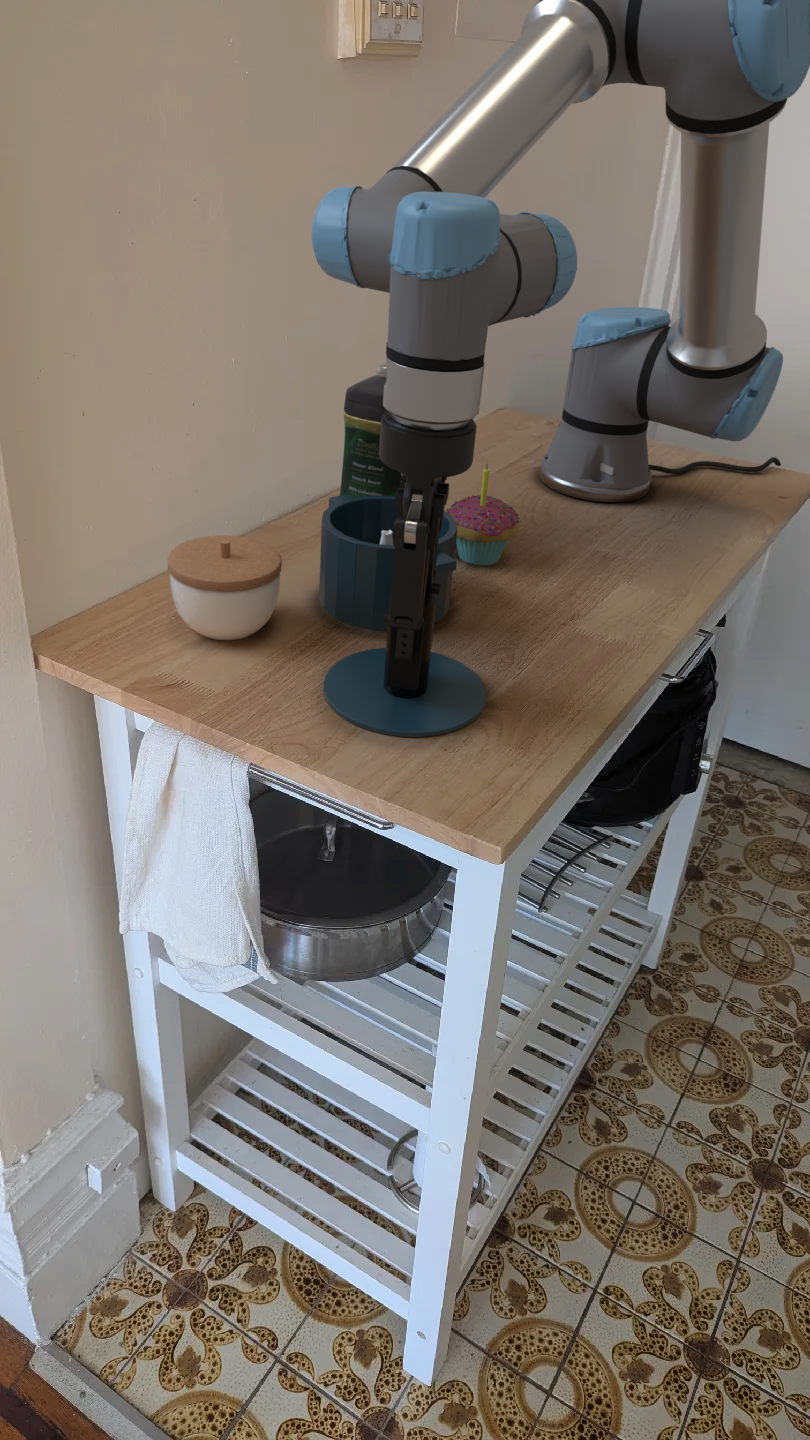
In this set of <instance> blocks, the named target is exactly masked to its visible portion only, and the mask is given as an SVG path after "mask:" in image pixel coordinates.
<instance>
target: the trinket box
mask: <svg viewBox="0 0 810 1440" xmlns="http://www.w3.org/2000/svg"><path fill="white" fill-rule="evenodd" d="M282 565H283V560H282V556H281V554H280V553H279V551H278V550H277V549H276V548H275V547H274V546H272V545H271V544H268V543H266V542H264V541H262V540H258V539H255V538H252V537H246V536H239V535H226V534H224V535H222V534H219V535H218V534H217V535H208V536H201V537H195V538H191V539H189V540H186V541H183V542H181V543H179V544H178V545H176V546H175V547H174V548H173V549H171V550H170V552H169V554H168V555H167V570H168V573H169V586H170V592H171V597H172V600H173V604H174V607H175V610H176V611H177V613H178V615H179V617H180V618H181V620H182V621H183V622H184V623H185V624H186V625H187V626H188V627H189V628H191V630H192V631H194V632H195V633H197V634H198V635H200V636H203V637H205V638H207V639H211V640H216V641H235V640H236V641H237V640H241V639H245V638H247V637H250V636H252V635H253V634H255V633H257V632H258V631H259V630H261V629H262V628H263V627H264V626H265V625H266V624H267V623H268V622H269V620H270V619H271V617H272V616H273V614H274V611H275V609H276V607H277V603H278V599H279V595H280V588H281V572H282Z"/></svg>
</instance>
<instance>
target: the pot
mask: <svg viewBox="0 0 810 1440" xmlns="http://www.w3.org/2000/svg"><path fill="white" fill-rule="evenodd" d="M396 517H397V512H396V510H395V496H362V497H356V498H353V497H351V496H350V495H348V494H345V495H340V494H339V495H335V496H330V497H329V498H328V507H327V508H326V509H325V510H324V511H323V512H322V518H321V531H320V532H321V533H320V535H321V536H320V538H321V539H320V559H319V560H320V562H319V587H318V588H319V589H318V591H319V592H318V602H319V603H320V606H321V607H322V609H323V611H324V612H326V613H327V614H328V615H330V616H331V617H333V618H334V619H335V620H337V621H340V622H342V623H345V624H347V625H349V626H351V627H355V628H360V629H365V630H368V631H369V630H370V631H374V632H375V631H376V632H387V631H388V623H384V622H383V617H384V615H385V613H386V614H389V604H390V595H391V589H392V575H393V561H394V547H395V538H394V537H395V528H394V522H395V520H396ZM382 530H384V531H389V530H391V531H392V532H393V533H392V538H393V545H380V540H381V536H382V533H381V531H382ZM457 531H458V529H457V522H456V521H455V520H454V518H453V517H452V516H451V515H450V514H449V513H447V510H444V519H443V524H442V528H441V530H440V532H439V542H438V552H437V561H436V570H437V573H436V575H435V577H434V579H433V583H435V584H441V588H440V594H439V595H435V594H433V595H434V596H435V598H436V609H435V619H434V624H436V623H438V622H439V621H441V620H443V619H444V618H445V616H446V615H447V613H448V612H449V610H450V602H451V594H452V584H453V575H454V571H457V563H458V561H457V559H456V558H455V557H456V550H457V544H456V540H457Z"/></svg>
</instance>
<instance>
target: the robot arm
mask: <svg viewBox="0 0 810 1440" xmlns="http://www.w3.org/2000/svg"><path fill="white" fill-rule="evenodd" d="M809 69H810V0H538V2H537V3H536V4H535V5H534V6H533V7H532V8H531V9H530V10H529V12H528V13H527V15H526V17H525V18H524V20H523V22H522V26H521V30H520V36H519V37H518V38H517V39H516V40H515V41H514V42H513V43H512V44H511V45H510V46H509V47H508V49H506V50H505V51H504V53H502V54H501V55H500V56H499V57H498V58H497V60H495V61H494V62H493V64H491V65H490V67H488V68H487V69H486V71H485V72H484V73H482V75H480V77H479V78H478V79H477V80H476V81H475V82H474V83H473V84H472V85H471V86H470V87H469V88H468V89H467V90H466V91H465V92H464V93H463V94H461V96H459V98H458V99H457V100H456V101H455V102H454V103H453V104H452V105H451V106H450V107H449V108H448V110H446V111H445V112H444V113H443V114H442V115H441V116H440V117H439V118H438V119H437V121H436V122H434V123H433V125H431V126H430V127H429V128H428V130H427V131H425V133H424V134H422V136H421V137H420V138H419V139H417V141H416V142H414V143H413V145H412V146H411V147H410V148H409V149H408V150H407V151H405V153H404V154H403V155H402V156H401V157H400V158H399V159H398V160H396V162H395V163H394V164H393V165H392V166H391V167H390V168H389V169H388V170H387V171H386V173H385V174H383V175H382V176H381V177H380V178H379V179H378V180H377V181H376V182H375V183H374V184H373V185H372V186H371V187H370V188H367V189H365V188H363V187H362V186H360V185H354V186H352V187H348V186H339V187H336V188H333V189H331V190H329V191H328V192H327V193H326V194H325V195H324V196H323V197H322V199H321V201H320V202H319V204H318V205H317V208H316V210H315V213H314V216H313V221H312V226H311V245H312V249H313V252H314V257H315V259H316V262H317V264H318V266H319V267H320V269H321V270H322V272H324V273H325V274H326V275H327V276H328V277H331V278H332V279H336V280H338V281H341V282H344V283H348V284H351V285H354V286H355V287H357V288H361V289H368V290H374V291H380V292H384V293H388V294H389V300H388V320H387V321H388V322H387V342H386V346H385V364H384V365H383V364H382V365H378V367H377V370H376V375H378V376H379V377H380V378H385V379H386V383H385V385H384V396H383V406H384V407H385V408H386V409H387V410H388V411H386V412H385V414H384V415H383V416H382V417H381V429H380V444H379V456H380V459H381V461H382V462H383V463H384V464H385V465H386V466H387V467H389V468H391V469H392V470H397V471H399V472H401V473H402V474H403V475H404V476H405V477H406V478H402V479H401V485H400V488H397V491H396V497H395V510H396V512H397V517H396V520H395V522H394V528H395V537H394V538H395V547H394V561H393V575H392V589H391V603H390V614H386V613H385V615H384V617H383V622H384V623H389V626H390V627H391V638H390V651H389V664H388V676H387V686H389V687H396V688H403V689H410V690H417V689H418V684H419V673H420V663H421V653H422V642H423V632H424V622H425V621H423V620H424V618H423V608H424V599H425V591H428V592H430V593H432V594H435V595H439V594H440V588H441V584H435V583H433V579H434V577H435V575H436V573H437V570H436V561H437V552H438V542H439V532H440V530H441V528H442V524H443V519H444V511H445V506H446V505H447V502H448V498H449V494H450V483H448V482H446V481H447V480H448V478H451V477H456V476H458V475H462V474H464V473H465V472H467V471H468V470H469V469H470V468H471V467H472V465H473V461H474V455H475V445H476V438H477V437H476V435H477V428H478V427H477V424H476V422H475V420H474V419H475V418H476V417H477V416H478V415H479V414H480V406H481V398H482V389H483V381H484V374H485V366H486V364H485V354H486V353H485V352H486V346H487V345H486V344H487V339H488V330H489V326H493V325H496V324H500V323H504V322H507V321H512V320H516V319H520V318H529V317H531V316H532V317H535V316H536V315H538V314H541V312H542V311H544V310H547V309H550V308H552V307H553V306H555V305H557V304H559V302H561V301H563V299H564V298H565V297H566V295H567V294H568V293H569V292H570V290H571V288H572V286H573V284H574V282H575V279H576V274H577V271H578V253H577V247H576V244H575V241H574V238H573V236H572V235H571V234H572V233H570V231H569V230H568V228H567V227H566V226H565V225H564V224H563V223H562V222H561V221H560V220H559V219H557V218H556V217H553V216H551V215H549V214H546V213H545V214H544V213H531V212H528V211H522V212H520V213H517V214H503V213H500V209H499V207H498V205H497V204H496V203H495V202H494V201H493V200H491V199H490V198H487V197H488V195H489V194H490V193H491V192H492V191H493V190H494V189H495V188H496V187H497V186H498V185H499V184H500V182H502V181H503V179H504V178H505V177H506V176H507V175H508V174H509V173H510V171H512V169H513V168H514V167H515V166H517V164H518V163H519V162H520V161H521V160H522V158H523V157H524V156H525V155H526V154H527V153H528V152H529V151H530V150H531V149H532V148H533V147H534V145H536V143H537V142H538V141H539V140H540V139H541V138H542V137H543V136H544V135H545V134H546V133H547V131H548V130H549V129H551V127H552V126H553V125H554V124H555V123H556V122H557V121H558V120H559V118H560V117H561V116H562V115H563V114H564V113H565V112H566V111H567V110H568V109H569V107H571V105H574V104H575V105H576V104H579V103H583V102H586V101H588V100H590V99H592V98H593V97H594V96H595V95H596V94H597V93H598V92H599V91H600V90H601V89H602V88H603V87H604V86H608V85H616V84H634V85H639V86H647V87H656V88H657V87H658V88H662V89H664V91H665V92H664V94H665V95H664V98H665V117H666V120H667V122H668V123H669V125H671V127H673V128H674V129H676V130H677V131H678V132H680V195H679V196H680V201H679V203H680V207H679V208H680V209H679V211H680V213H679V214H680V215H679V216H680V217H679V218H680V219H679V317H678V319H677V320H675V322H674V323H673V324H672V325H671V326H670V324H671V323H672V319H671V315H670V313H669V312H668V311H667V310H662V309H661V308H660V309H659V308H654V307H641V306H639V307H638V306H622V307H621V306H620V307H619V306H618V307H605V308H598V309H593V310H590V311H587V312H585V313H584V314H583V315H582V316H581V317H580V318H579V319H578V321H577V324H576V328H575V334H574V337H573V342H572V345H571V347H570V350H571V353H570V360H569V367H568V373H567V381H566V386H565V393H564V394H565V395H564V401H563V406H562V407H563V408H562V414H561V419H560V423H559V425H558V428H557V430H556V432H555V434H554V436H553V438H552V440H551V442H550V444H549V447H548V450H547V452H545V454H544V456H543V458H542V459H541V462H540V468H539V479H540V481H541V482H542V483H543V484H544V485H546V487H548V488H550V489H551V490H554V492H558V493H559V494H563V495H565V496H569V497H573V498H576V499H580V500H586V501H592V502H600V503H623V502H624V503H625V502H630V501H631V502H632V501H635V500H638V499H641V498H643V497H645V496H646V495H647V494H648V493H649V489H650V485H651V481H652V473H651V471H655V472H660V473H665V474H669V475H679V474H683V473H685V472H687V471H689V470H691V469H695V468H699V467H710V468H711V467H712V468H718V469H725V470H731V471H735V472H744V473H757V472H761V471H764V470H765V469H766V468H768V467H769V466H771V465H772V464H773V463H774V465H775V466H777V467H781V466H782V463H781V461H780V460H779V459H778V458H777V457H775V456H773V457H770V458H769V459H767V460H766V461H765V462H764V463H762V464H760V465H758V466H743V465H736V464H731V463H725V462H720V461H712V460H710V461H709V460H701V461H700V460H699V461H694V462H691V463H688V464H686V465H684V466H682V467H678V468H670V467H665V466H661V465H654V464H649V451H648V449H649V448H648V440H647V439H648V437H647V435H648V434H647V433H648V428H649V422H653V423H657V424H662V425H665V426H668V427H672V428H675V429H679V430H683V431H686V432H689V433H693V434H697V435H701V436H703V437H708V438H710V439H712V440H715V439H719V440H724V441H730V442H733V443H735V442H741V441H743V440H745V439H746V438H748V437H749V436H750V435H751V434H752V433H753V431H754V430H755V429H756V427H757V426H758V425H759V423H760V421H761V419H762V418H763V415H764V414H765V412H766V410H767V408H768V406H769V405H770V402H771V399H772V397H773V395H774V392H775V390H776V387H777V385H778V382H779V379H780V376H781V372H782V368H783V363H784V356H783V353H782V352H781V351H780V350H779V349H776V347H775V346H771V347H767V339H768V330H767V327H766V324H765V322H764V320H762V318H761V317H760V316H758V314H756V307H757V295H758V293H757V292H758V279H759V267H760V255H761V254H760V253H761V242H762V241H761V240H762V227H763V216H764V215H763V214H764V200H765V199H764V198H765V189H766V188H765V186H766V175H767V163H768V162H767V160H768V150H769V149H768V148H769V147H768V146H769V135H770V123H772V121H774V120H775V119H776V118H777V117H778V116H780V114H781V113H782V112H783V110H784V109H785V108H786V105H787V102H788V99H789V98H791V97H793V96H794V95H795V94H796V93H797V92H798V91H799V89H800V88H801V87H802V85H803V83H804V81H805V79H806V77H807V75H808V72H809Z"/></svg>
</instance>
